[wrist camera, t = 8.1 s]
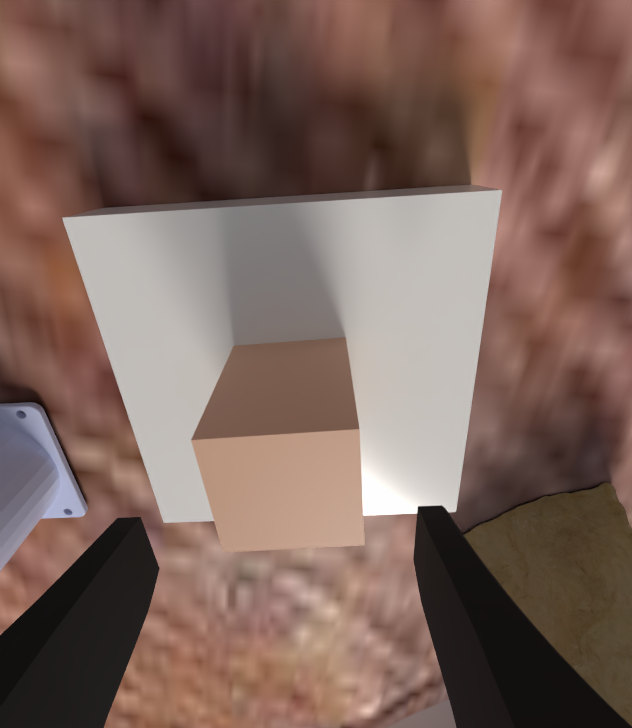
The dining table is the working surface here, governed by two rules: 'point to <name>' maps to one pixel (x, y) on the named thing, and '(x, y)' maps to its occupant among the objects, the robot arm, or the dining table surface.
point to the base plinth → (299, 320)
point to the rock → (571, 581)
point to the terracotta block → (283, 448)
